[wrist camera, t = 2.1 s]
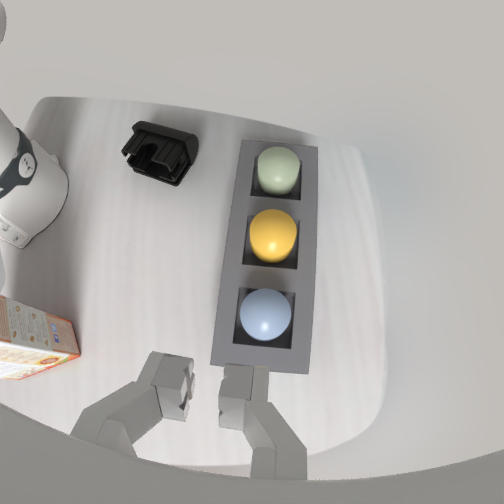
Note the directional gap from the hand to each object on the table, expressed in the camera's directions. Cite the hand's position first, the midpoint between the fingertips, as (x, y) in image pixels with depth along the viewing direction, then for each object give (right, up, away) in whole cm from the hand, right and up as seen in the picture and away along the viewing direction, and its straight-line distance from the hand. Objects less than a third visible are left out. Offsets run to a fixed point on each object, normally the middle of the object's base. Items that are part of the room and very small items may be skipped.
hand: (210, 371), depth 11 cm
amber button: (+4, +5, +25) cm, 26 cm away
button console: (+4, +3, +32) cm, 33 cm away
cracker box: (-30, -11, +28) cm, 42 cm away
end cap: (-13, +19, +39) cm, 45 cm away
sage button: (+5, +13, +28) cm, 31 cm away
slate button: (+3, -3, +22) cm, 23 cm away
